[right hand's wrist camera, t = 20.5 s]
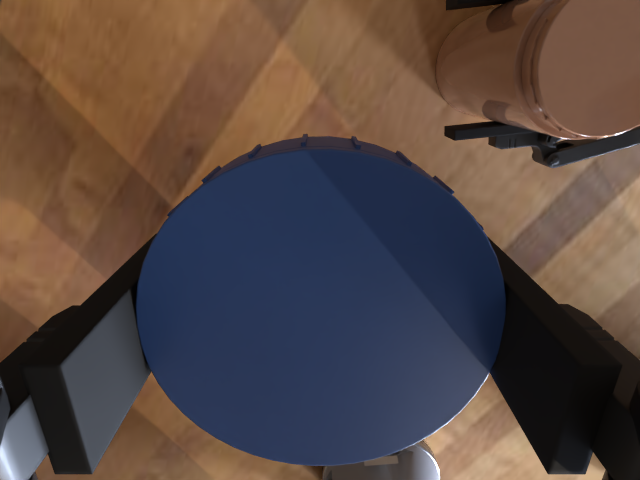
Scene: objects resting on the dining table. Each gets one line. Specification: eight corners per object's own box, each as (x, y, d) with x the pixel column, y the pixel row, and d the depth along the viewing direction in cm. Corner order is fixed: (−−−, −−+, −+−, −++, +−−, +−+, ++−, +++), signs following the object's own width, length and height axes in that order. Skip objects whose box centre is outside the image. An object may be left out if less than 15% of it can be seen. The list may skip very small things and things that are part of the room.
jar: (439, 123, 38) (530, 159, 21) (431, 24, 35) (528, -22, 18) (531, 104, 37) (695, 127, 21) (530, 2, 34) (722, -65, 18)
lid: (464, 97, 10) (498, 101, 8) (488, 389, 13) (515, 439, 12) (111, 176, 11) (67, 197, 9) (218, 434, 14) (202, 488, 12)
